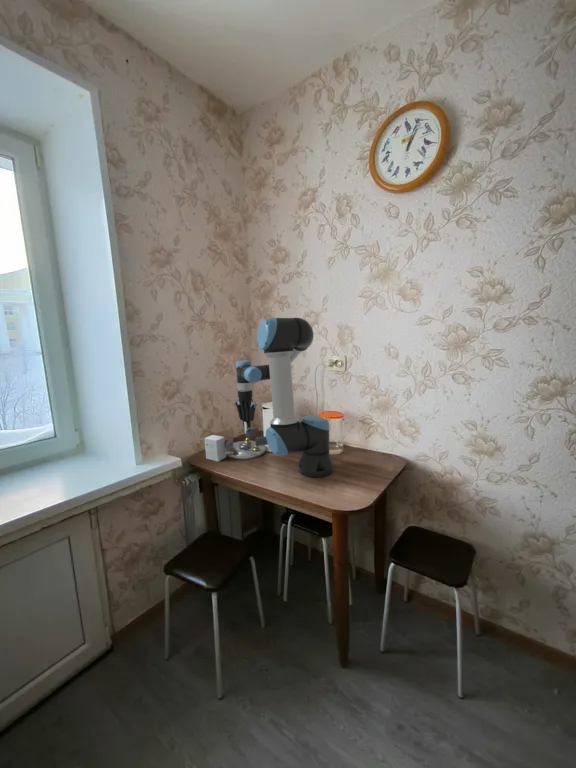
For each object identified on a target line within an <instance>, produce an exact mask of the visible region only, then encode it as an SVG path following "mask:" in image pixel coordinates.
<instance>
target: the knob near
mask: <svg viewBox="0 0 576 768" xmlns="http://www.w3.org/2000/svg"><path fill="white" fill-rule="evenodd" d="M255 441H256V445H254V447H253V451H259V450H260V447H258V446H259V445H265V446H268V443H267V440H266V435H265V436H257V437H255Z"/></svg>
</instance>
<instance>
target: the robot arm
mask: <svg viewBox="0 0 576 768" xmlns="http://www.w3.org/2000/svg"><path fill="white" fill-rule="evenodd" d="M256 337H257V344H258V348H259V349H261V350H262V351H263V353H264V355H265V357H267V359H268V364H262V365H261V364H259V365H252V363H251V361H250V360H245V359H243V360H238V361H236V364H235V366H236V367H235V370H236V382H237V383H236V384H237V385H236V386H237V397H238V401H236V402H235V404H234V405H235V406H236V408H237V412H238V417H239V419H240V421H242V423H243V428H244V434H245V435H246V431H247V430H249V429H251V427H252V425H251V424H252V423H251V422H253V421H254V419H255V412H256V408H257V403H254V401H253V390H252V389H253V384H254V383H257V382H259V381H266V380H268V381H269V380H270V390H271V391H270V392H271V393H270V394H271V402H272V406H271V407H272V413H273V414H272V415H273V418H272V419H271V420H270V422H269V424H270V425H269V426H270V427H268V428H266V430H265V436H266V440H267V443H268V445H267V446H268V448H269V450H270V451H271V452H272V454H273V455H275V456H277V457H280V456H288V455H291V454H294V453H300V452H301V455H300V458H299V462H298V466H297V467H298V469H297V470H298V472H299V474H301V475H302V476H303V477H304V476H305V477H309V478H314V479H315V478H324V477H328V476H330V475H332V474H333V473H334V470H335V469H334V463H333V460H332V457H331V454H330V431H331V430H330V426H329V425H330V423H329V421H328V420H327V419H326V418H324V417H320V416H315V415H307V416H306V415H305V416H302V417H301V418H300V420H299V418H298V417H297V416H296V411H295V402H294V401H295V400H294V390H293V389H294V388H293V376H292V365H291V364H292V363H293V361H295V359H296V358H297V357H299V355H300V354H301V352H304V351H306V350H307V349H308V348H309V347H310V346H311V345H312V343H313V340H314V330H313V327H312V326H311V324H310V323H309V322H308V321H307V320H306V319H305V318H302V317H301V318H300V317H271V318H265V319H263V320H262V321H261V322H260V324H259V325H258V330H257V336H256ZM252 383H253V384H252Z"/></svg>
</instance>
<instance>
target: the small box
mask: <svg viewBox="0 0 576 768" xmlns="http://www.w3.org/2000/svg"><path fill="white" fill-rule="evenodd" d="M225 444H226V441H225V437H224V436H221V435H215V434H212V435H208V436H206V437H204V449H205V458H206V460H211V461H213V462H220V461H222V460H224V459H226V458H227V456H226V451H225V448H226V447H225Z"/></svg>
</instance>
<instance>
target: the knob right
mask: <svg viewBox="0 0 576 768" xmlns="http://www.w3.org/2000/svg"><path fill="white" fill-rule="evenodd" d="M257 435H259V427H258V426H254V427H252V428H250V429H249V430H247V431H246V434H245V439H244V440H243V441H244V443H251V441H252V440H251V439H250V438H253V437H254V436H257Z"/></svg>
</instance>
